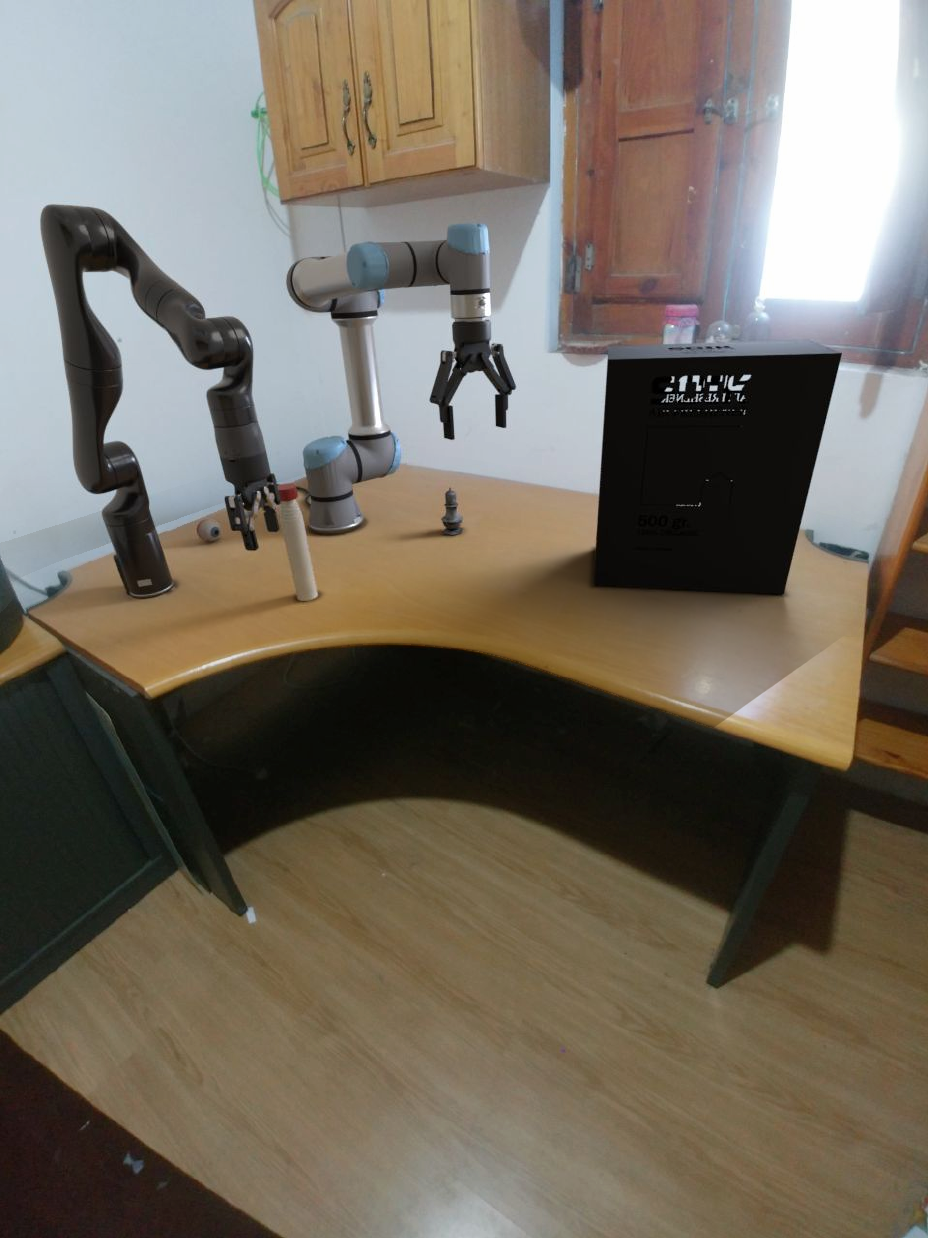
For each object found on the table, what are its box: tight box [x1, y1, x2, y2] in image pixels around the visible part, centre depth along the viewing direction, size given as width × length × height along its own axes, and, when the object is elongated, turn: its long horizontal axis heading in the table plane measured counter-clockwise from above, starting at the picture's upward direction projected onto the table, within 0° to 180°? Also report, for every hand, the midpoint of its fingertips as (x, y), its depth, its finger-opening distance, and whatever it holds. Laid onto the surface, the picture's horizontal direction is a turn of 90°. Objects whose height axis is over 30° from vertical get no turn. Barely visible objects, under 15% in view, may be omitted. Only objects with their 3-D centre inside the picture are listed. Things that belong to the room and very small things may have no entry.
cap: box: [277, 482, 299, 501], centre depth 121 cm, size 4×4×2 cm
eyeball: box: [196, 518, 222, 543], centre depth 162 cm, size 6×6×6 cm
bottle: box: [279, 499, 319, 602], centre depth 126 cm, size 4×4×24 cm
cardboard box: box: [593, 339, 843, 595], centre depth 123 cm, size 38×20×45 cm, turn 78°
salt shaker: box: [440, 487, 464, 536], centre depth 158 cm, size 6×6×12 cm
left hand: (263, 540), depth 109 cm, fingers open, 8 cm apart
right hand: (475, 432), depth 126 cm, fingers open, 13 cm apart
